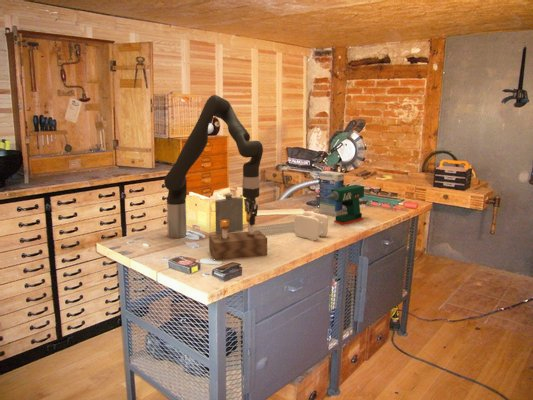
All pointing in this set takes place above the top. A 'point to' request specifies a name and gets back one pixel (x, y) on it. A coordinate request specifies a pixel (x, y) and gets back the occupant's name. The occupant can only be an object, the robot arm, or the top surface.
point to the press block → (237, 245)
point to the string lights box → (326, 184)
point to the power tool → (348, 202)
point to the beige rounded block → (311, 225)
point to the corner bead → (275, 228)
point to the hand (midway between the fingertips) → (250, 223)
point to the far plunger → (250, 227)
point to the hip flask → (229, 213)
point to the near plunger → (224, 228)
